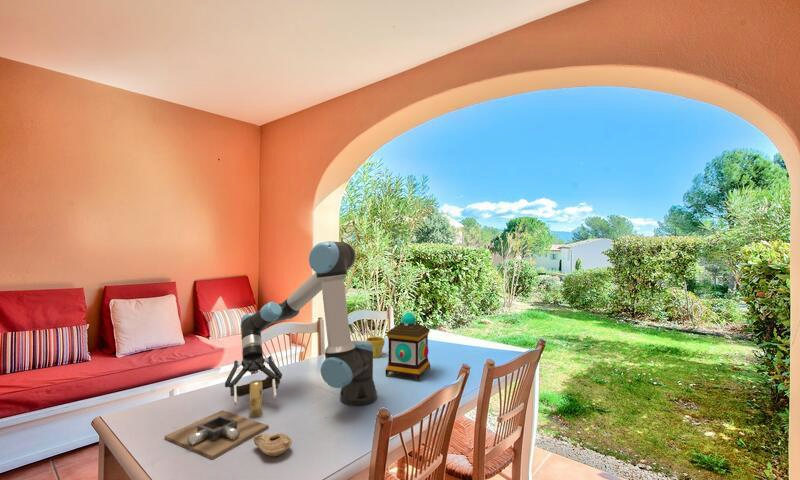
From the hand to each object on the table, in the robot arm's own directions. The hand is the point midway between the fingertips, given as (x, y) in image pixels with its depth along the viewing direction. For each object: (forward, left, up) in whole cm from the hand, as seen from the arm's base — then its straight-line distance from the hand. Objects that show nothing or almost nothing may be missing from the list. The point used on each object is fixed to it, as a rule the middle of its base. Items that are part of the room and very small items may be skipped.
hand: (255, 400), depth 136 cm
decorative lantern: (-29, -67, -6) cm, 74 cm away
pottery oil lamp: (-23, +14, -6) cm, 27 cm away
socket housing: (-3, +18, -5) cm, 19 cm away
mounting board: (+1, +15, -6) cm, 16 cm away
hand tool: (+20, -19, -6) cm, 28 cm away
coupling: (+1, -1, -6) cm, 6 cm away
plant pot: (0, -83, -6) cm, 84 cm away
